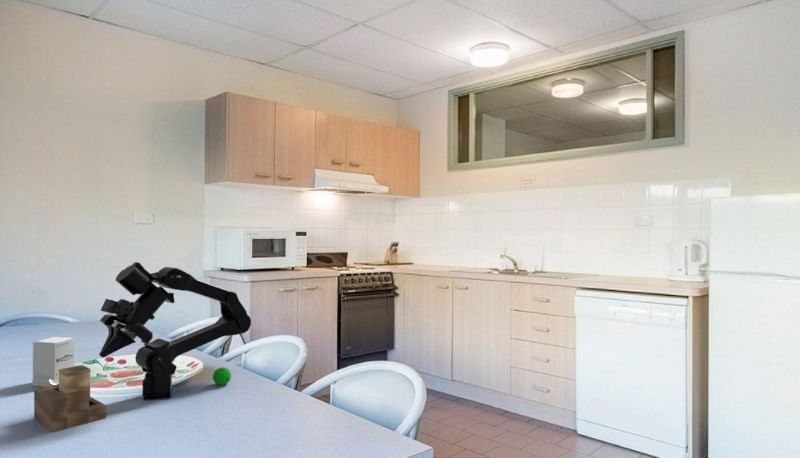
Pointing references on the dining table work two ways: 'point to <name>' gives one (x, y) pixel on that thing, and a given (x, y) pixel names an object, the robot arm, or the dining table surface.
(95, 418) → the socket
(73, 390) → the peg
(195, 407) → the dining table surface
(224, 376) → the polyhedron
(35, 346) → the supplement box
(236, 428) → the dining table surface
